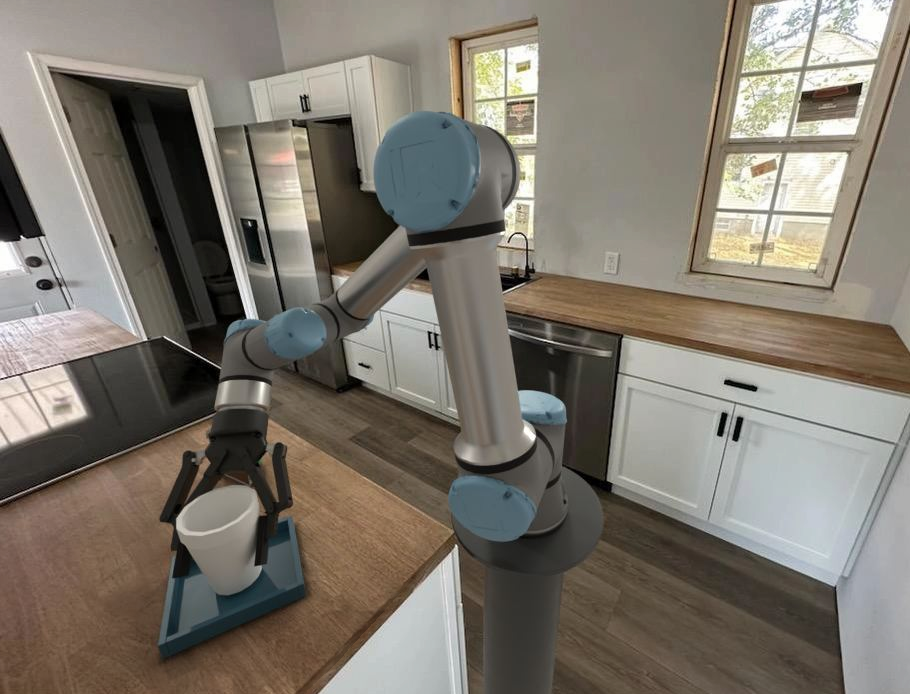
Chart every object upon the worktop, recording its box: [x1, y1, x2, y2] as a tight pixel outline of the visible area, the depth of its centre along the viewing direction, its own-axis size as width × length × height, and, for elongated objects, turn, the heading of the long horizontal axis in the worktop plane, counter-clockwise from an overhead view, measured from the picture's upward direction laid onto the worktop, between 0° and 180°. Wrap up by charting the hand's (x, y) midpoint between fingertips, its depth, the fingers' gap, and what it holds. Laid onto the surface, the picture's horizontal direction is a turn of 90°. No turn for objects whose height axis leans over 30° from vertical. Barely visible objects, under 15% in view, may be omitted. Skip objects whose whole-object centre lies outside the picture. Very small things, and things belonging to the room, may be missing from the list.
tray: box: [157, 514, 307, 660], centre depth 62 cm, size 17×15×2 cm
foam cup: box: [176, 484, 262, 595], centre depth 60 cm, size 10×9×13 cm
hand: (221, 570), depth 57 cm, fingers closed on foam cup, 9 cm apart
